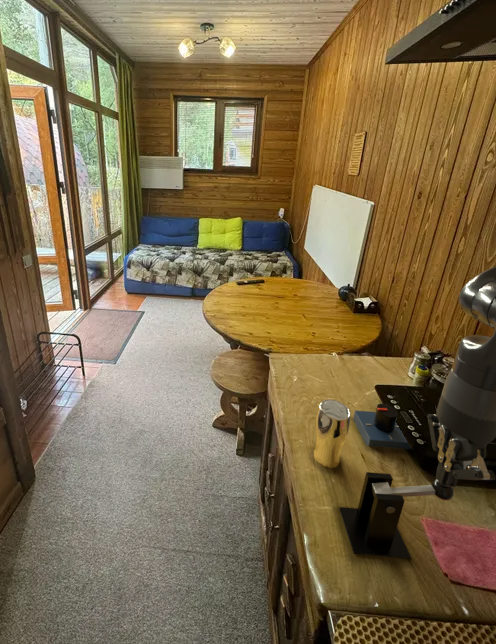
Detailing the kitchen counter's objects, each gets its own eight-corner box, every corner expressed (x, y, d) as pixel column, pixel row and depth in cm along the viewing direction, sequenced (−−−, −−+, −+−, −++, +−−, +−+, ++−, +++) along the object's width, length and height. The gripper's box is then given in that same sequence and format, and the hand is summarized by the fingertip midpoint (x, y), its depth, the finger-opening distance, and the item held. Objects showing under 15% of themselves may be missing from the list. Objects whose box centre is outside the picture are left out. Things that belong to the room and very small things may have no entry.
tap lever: (445, 486, 56) (446, 473, 55) (457, 504, 53) (458, 490, 52) (371, 491, 58) (370, 478, 57) (378, 509, 55) (378, 496, 54)
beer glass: (304, 452, 76) (312, 403, 71) (326, 443, 79) (335, 395, 74) (325, 477, 70) (334, 424, 65) (348, 466, 73) (358, 415, 68)
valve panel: (393, 421, 86) (395, 412, 85) (413, 452, 77) (416, 442, 76) (353, 419, 87) (354, 409, 86) (367, 449, 77) (370, 439, 76)
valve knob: (388, 419, 83) (392, 403, 81) (397, 433, 78) (402, 416, 77) (370, 418, 83) (373, 402, 82) (378, 432, 79) (382, 415, 77)
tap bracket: (388, 515, 62) (401, 467, 58) (410, 562, 55) (427, 511, 51) (338, 510, 63) (347, 463, 59) (352, 557, 55) (364, 506, 51)
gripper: (537, 437, 42) (498, 525, 47) (466, 376, 54) (442, 451, 60) (478, 433, 42) (446, 521, 48) (422, 373, 55) (402, 448, 60)
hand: (444, 482), depth 54 cm, fingers closed
